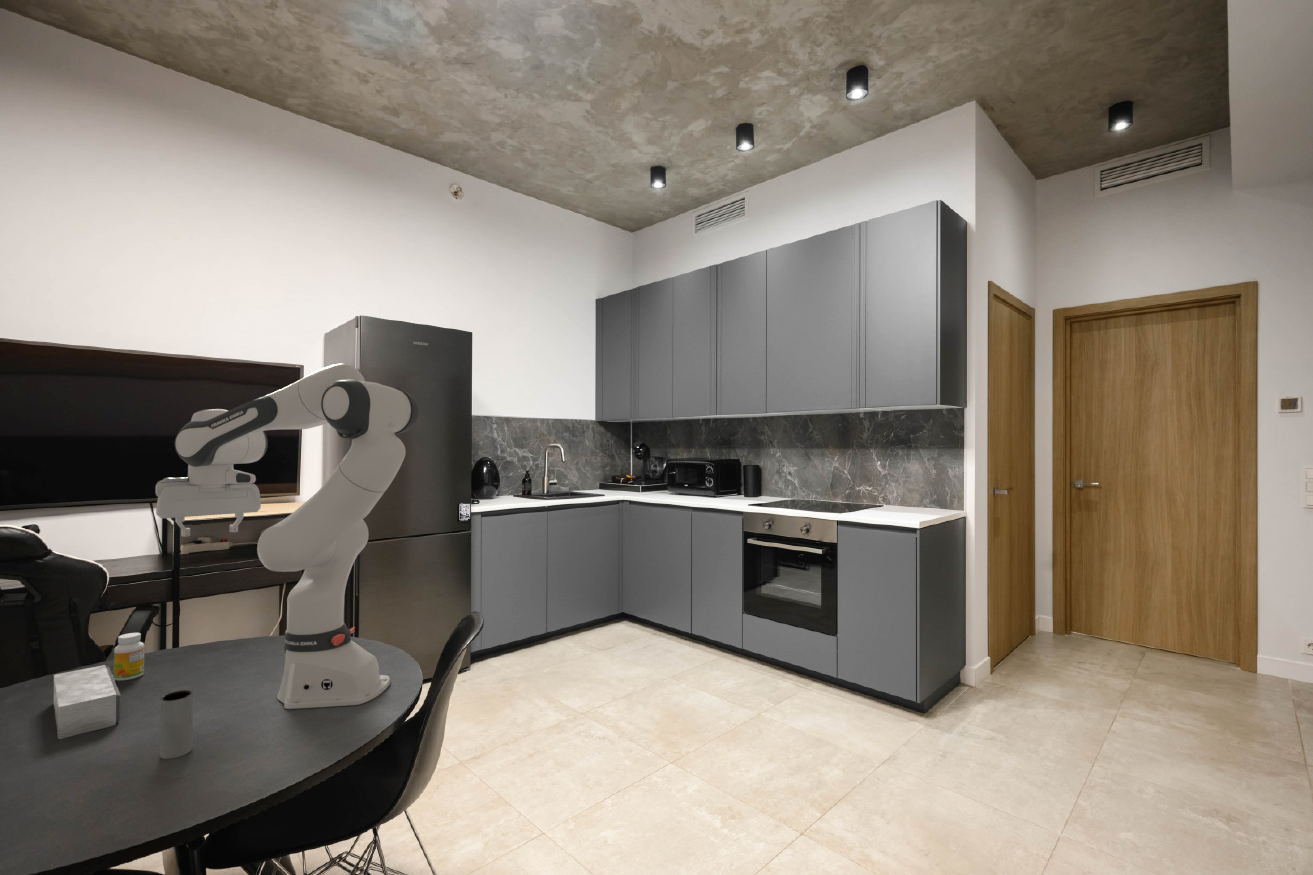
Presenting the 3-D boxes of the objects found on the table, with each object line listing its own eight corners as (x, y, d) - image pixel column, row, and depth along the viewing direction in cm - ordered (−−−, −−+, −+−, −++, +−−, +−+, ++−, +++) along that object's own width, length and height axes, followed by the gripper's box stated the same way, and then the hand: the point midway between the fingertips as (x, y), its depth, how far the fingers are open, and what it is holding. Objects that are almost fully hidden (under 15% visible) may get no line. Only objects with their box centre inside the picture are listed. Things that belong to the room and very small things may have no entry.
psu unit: (121, 723, 119) (122, 692, 119) (58, 739, 112) (58, 707, 112) (110, 690, 134) (110, 663, 134) (53, 703, 127) (53, 674, 127)
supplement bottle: (108, 678, 140) (108, 637, 140) (135, 670, 145) (135, 630, 145) (122, 682, 138) (122, 640, 138) (149, 674, 143) (149, 633, 143)
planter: (166, 762, 105) (166, 702, 105) (155, 754, 107) (156, 696, 107) (196, 750, 109) (197, 693, 109) (186, 743, 111) (186, 687, 111)
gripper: (157, 478, 136) (156, 540, 136) (263, 475, 151) (262, 531, 151) (153, 477, 140) (152, 537, 140) (256, 474, 155) (255, 528, 155)
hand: (210, 533), depth 146 cm, fingers open, 8 cm apart
